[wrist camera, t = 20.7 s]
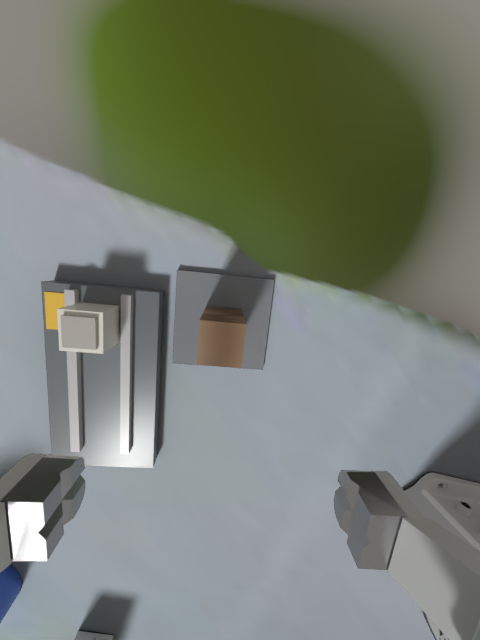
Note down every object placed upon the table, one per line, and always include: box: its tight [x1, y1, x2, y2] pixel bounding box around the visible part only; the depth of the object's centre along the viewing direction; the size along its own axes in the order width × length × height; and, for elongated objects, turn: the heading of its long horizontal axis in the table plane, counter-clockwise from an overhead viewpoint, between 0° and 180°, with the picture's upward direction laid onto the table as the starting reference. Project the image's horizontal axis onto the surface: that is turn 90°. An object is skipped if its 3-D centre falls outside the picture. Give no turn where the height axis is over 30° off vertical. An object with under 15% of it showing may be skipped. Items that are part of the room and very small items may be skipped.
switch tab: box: [57, 302, 120, 354], centre depth 25 cm, size 4×4×4 cm
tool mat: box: [172, 270, 274, 370], centre depth 30 cm, size 11×11×1 cm
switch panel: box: [41, 280, 164, 468], centre depth 30 cm, size 12×22×3 cm, turn 174°
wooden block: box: [197, 305, 247, 368], centre depth 26 cm, size 4×4×8 cm
